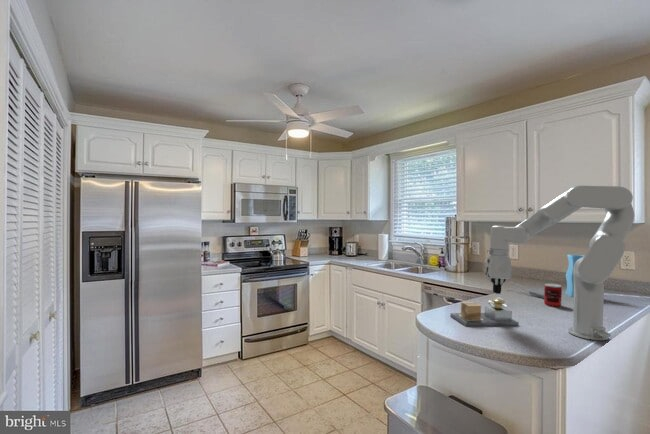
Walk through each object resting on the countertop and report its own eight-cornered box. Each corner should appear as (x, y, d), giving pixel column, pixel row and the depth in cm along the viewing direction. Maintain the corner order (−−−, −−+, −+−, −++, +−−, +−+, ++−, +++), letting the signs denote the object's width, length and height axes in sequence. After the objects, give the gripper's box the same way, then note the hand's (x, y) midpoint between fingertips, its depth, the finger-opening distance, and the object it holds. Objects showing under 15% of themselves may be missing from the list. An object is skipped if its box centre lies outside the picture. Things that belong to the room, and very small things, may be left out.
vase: (571, 297, 199) (572, 256, 199) (565, 294, 208) (566, 254, 208) (590, 299, 196) (591, 257, 196) (583, 295, 205) (584, 255, 205)
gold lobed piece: (507, 311, 148) (507, 301, 148) (496, 311, 148) (496, 301, 148) (500, 308, 153) (500, 298, 153) (489, 308, 153) (489, 298, 153)
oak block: (480, 319, 147) (480, 305, 147) (467, 319, 146) (467, 305, 146) (473, 315, 153) (473, 302, 153) (461, 315, 152) (461, 302, 152)
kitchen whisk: (554, 302, 187) (555, 291, 187) (503, 290, 217) (503, 281, 217) (561, 301, 189) (561, 291, 189) (509, 290, 219) (510, 280, 219)
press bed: (518, 325, 144) (518, 313, 144) (465, 326, 142) (465, 313, 142) (498, 316, 158) (499, 304, 158) (450, 316, 156) (450, 304, 156)
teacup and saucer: (485, 303, 182) (485, 296, 182) (496, 302, 185) (496, 295, 185) (499, 308, 174) (499, 300, 174) (510, 307, 176) (510, 299, 176)
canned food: (554, 303, 185) (554, 283, 184) (565, 307, 177) (565, 286, 176) (540, 303, 184) (541, 283, 184) (550, 307, 176) (551, 286, 176)
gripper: (487, 253, 146) (485, 294, 146) (519, 254, 147) (517, 295, 148) (478, 251, 154) (476, 290, 154) (509, 252, 155) (507, 291, 155)
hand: (496, 292), depth 151 cm, fingers closed
